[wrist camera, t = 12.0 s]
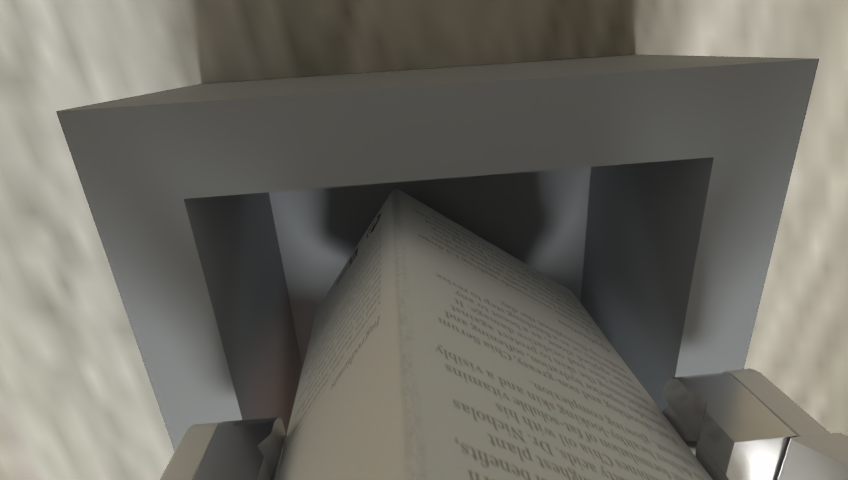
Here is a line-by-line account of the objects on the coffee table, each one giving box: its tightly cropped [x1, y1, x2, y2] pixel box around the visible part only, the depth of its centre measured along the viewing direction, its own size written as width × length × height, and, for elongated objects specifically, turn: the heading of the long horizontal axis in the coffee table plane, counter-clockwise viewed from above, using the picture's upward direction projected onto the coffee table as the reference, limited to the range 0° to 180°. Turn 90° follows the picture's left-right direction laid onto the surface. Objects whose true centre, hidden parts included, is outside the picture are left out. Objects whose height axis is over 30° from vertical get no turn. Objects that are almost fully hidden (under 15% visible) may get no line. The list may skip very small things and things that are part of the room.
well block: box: [56, 55, 819, 451], centre depth 12 cm, size 12×12×6 cm
